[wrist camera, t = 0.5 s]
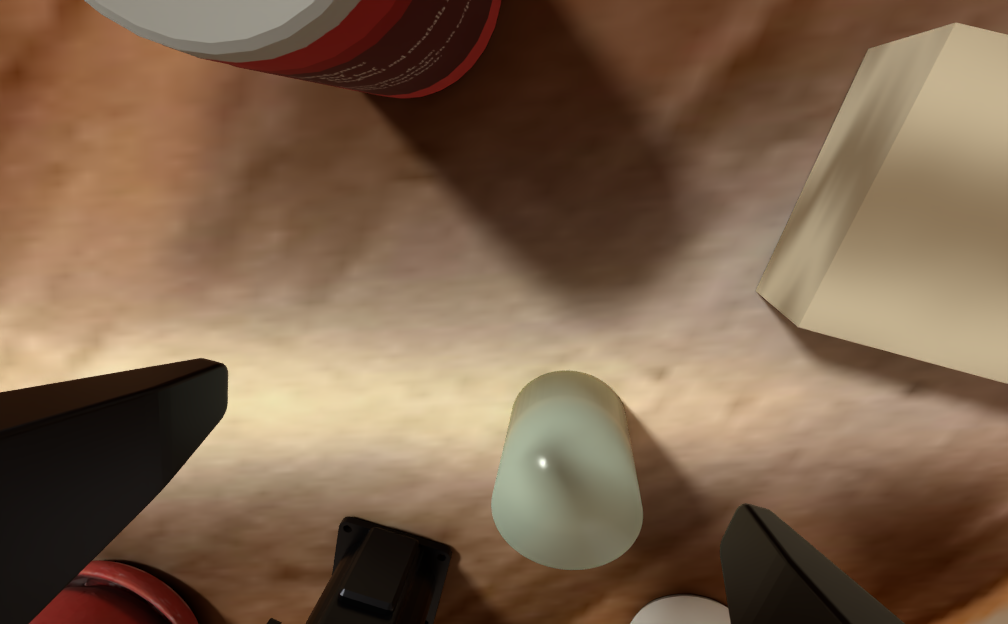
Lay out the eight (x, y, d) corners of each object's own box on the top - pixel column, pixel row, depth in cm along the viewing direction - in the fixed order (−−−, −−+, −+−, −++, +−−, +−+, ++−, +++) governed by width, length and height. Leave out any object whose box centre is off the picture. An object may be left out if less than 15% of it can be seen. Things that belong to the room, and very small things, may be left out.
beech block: (976, 350, 19) (1073, 401, 15) (755, 290, 19) (798, 327, 16) (1138, 114, 16) (1313, 107, 12) (868, 49, 16) (955, 22, 12)
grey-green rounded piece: (605, 481, 24) (614, 586, 18) (500, 450, 24) (477, 545, 18) (642, 389, 22) (665, 475, 16) (527, 356, 22) (510, 431, 16)
